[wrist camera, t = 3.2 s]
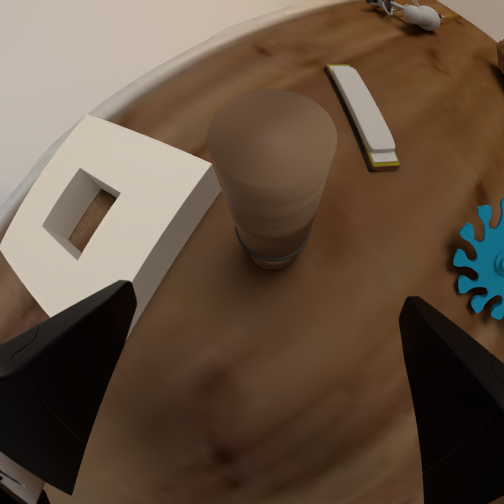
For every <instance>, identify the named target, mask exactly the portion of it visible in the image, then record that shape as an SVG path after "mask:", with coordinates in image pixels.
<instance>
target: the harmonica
mask: <svg viewBox="0 0 504 504" xmlns="http://www.w3.org/2000/svg"><path fill="white" fill-rule="evenodd" d="M324 70H325V72H326V74H327V76H328V78H329V80H330V82H331V84H332V86H333V88H334V90H335V92H336V94H337V96H338V98H339V101H340V103H341V105H342V107H343V109H344V111H345V114H346V116H347V118H348V120H349V123H350V125H351V127H352V130H353V132H354V135H355V137H356V139H357V142H358V144H359V147H360V149H361V152H362V155H363V157H364V160H365V163H366V165H367V168H368V170H369V172H374V171H387V170H398V168H399V167H400V163H399V160H398V157H397V155H396V153H395V150H394V149H395V143H394V140H393V138H392V135H391V133H390V131H389V129H388V127H387V125H386V123H385V121H384V119H383V117H382V115H381V113H380V111H379V109H378V107H377V105H376V103H375V102H374V100H373V98H372V96H371V94H370V93H369V91H368V89H367V87H366V86H365V84H364V82H363V81H362V79H361V77H360V76H359V74H358V73H357V71H356V70H355V69H354V68H351V67H350V65H345V64H327V65H326V68H324Z"/></svg>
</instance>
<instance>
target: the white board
mask: <svg viewBox="0 0 504 504" xmlns="http://www.w3.org/2000/svg"><path fill="white" fill-rule="evenodd" d="M101 188H102V189H103V190H105V191H106V192H108V193H110V194H111V195H113V196H114V197H116V198H117V200H116V201H115V203H114V204H113V205H112V207H111V208H110V210H109V211H108V213H107V214H106V216H105V217H104V219H103V220H102V222H101V223H100V225H99V227H98V228H97V230H96V231H95V233H94V234H93V236H92V238H91V239H90V241H89V243H88V244H87V246H86V248H85V249H84V251H83V253H81V252H80V251H79V250H78V249H77V248H76V247H75V246H73V245H72V244H71V243H70V242H69V241H68V239H69V237H70V236H71V234H72V232H73V231H74V229H75V228H76V226H77V224H78V223H79V221H80V220H81V218H82V216H83V215H84V213H85V212H86V210H87V209H88V207H89V206H90V204H91V203H92V201H93V200H94V198H95V197H96V195H97V194H98V193H99V191H100V190H101ZM220 192H221V188H220V185H219V182H218V179H217V177H216V174H215V171H214V168H213V165H212V164H211V163H209V162H207V161H204V160H202V159H200V158H198V157H195V156H193V155H191V154H188V153H186V152H184V151H181V150H179V149H177V148H174V147H172V146H169V145H167V144H165V143H162V142H160V141H157V140H155V139H152V138H150V137H147V136H145V135H142V134H140V133H137V132H135V131H132V130H129V129H127V128H124V127H121V126H119V125H116V124H113V123H111V122H108V121H105V120H102V119H100V118H97V117H94V116H91V115H88V114H87V115H86V116H85V117H84V118H83V120H82V121H81V122H80V123H79V124H78V125H77V127H76V128H75V129H74V130H73V131H72V133H71V134H70V135H69V136H68V138H67V139H66V140H65V141H64V143H63V144H62V145H61V146H60V148H59V149H58V150H57V152H56V153H55V154H54V156H53V157H52V159H51V160H50V161H49V163H48V164H47V166H46V167H45V168H44V170H43V171H42V173H41V174H40V176H39V177H38V179H37V180H36V182H35V183H34V185H33V186H32V188H31V190H30V191H29V193H28V194H27V196H26V198H25V199H24V201H23V203H22V204H21V206H20V208H19V210H18V211H17V213H16V215H15V217H14V219H13V221H12V222H11V224H10V226H9V228H8V230H7V232H6V234H5V236H4V238H3V240H2V242H1V244H0V250H1V252H2V253H3V255H4V256H5V258H6V260H7V261H8V263H9V264H10V266H11V267H12V268H13V270H14V271H15V273H16V274H17V276H18V277H19V278H20V280H21V281H22V282H23V284H24V285H25V287H26V288H27V289H28V291H29V292H30V293H31V294H32V296H33V297H34V298H35V300H36V301H37V302H38V303H39V305H40V306H41V307H42V308H43V309H44V311H45V312H46V313H47V314H48V315H49V317H52V316H54V315H56V314H58V313H59V312H61V311H63V310H65V309H67V308H68V307H70V306H72V305H74V304H76V303H77V302H79V301H81V300H83V299H85V298H87V297H88V296H90V295H92V294H94V293H96V292H98V291H99V290H101V289H103V288H105V287H107V286H109V285H111V284H113V283H114V282H116V281H118V280H129V281H131V282H132V284H133V287H134V291H135V295H136V298H137V308H136V311H135V314H134V317H133V320H132V323H131V326H130V329H129V333H128V336H127V339H128V337H129V335H130V333H131V331H132V330H133V328H134V326H135V325H136V323H137V321H138V319H139V318H140V316H141V314H142V313H143V311H144V309H145V307H146V306H147V304H148V302H149V301H150V299H151V297H152V296H153V294H154V292H155V291H156V289H157V288H158V286H159V284H160V283H161V281H162V279H163V278H164V276H165V275H166V273H167V271H168V270H169V268H170V267H171V265H172V264H173V262H174V260H175V259H176V257H177V256H178V254H179V253H180V251H181V249H182V248H183V246H184V245H185V243H186V242H187V240H188V239H189V237H190V236H191V234H192V233H193V231H194V230H195V228H196V227H197V225H198V224H199V222H200V221H201V219H202V218H203V216H204V215H205V213H206V212H207V210H208V209H209V208H210V206H211V205H212V203H213V202H214V200H215V199H216V197H217V196H218V195H219V193H220ZM127 339H126V340H127Z"/></svg>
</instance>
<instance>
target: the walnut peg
mask: <svg viewBox="0 0 504 504" xmlns="http://www.w3.org/2000/svg"><path fill="white" fill-rule="evenodd" d="M207 142H208V148H209V151H210V154H211V157H212V160H213V163H214V165H215V168H216V171H217V174H218V177H219V180H220V183H221V186H222V189H223V191H224V194H225V197H226V200H227V203H228V206H229V209H230V212H231V214H232V217H233V220H234V223H235V230H236V234H237V237H238V239H239V241H240V243H241V245H242V246H243V248H244V249H245V250H246V251H247V252H248V253H249V254H250V256H251V258H252V259H253V261H254V262H255V263H256V264H257V265H258V266H260V267H262V268H264V269H267V270H280V269H283V268H285V267H287V266H289V265H290V264H291V263H292V262H293V261H294V260H295V258H296V256H297V254H298V253H299V252H300V251H301V250H302V249H303V248H304V247H305V245H306V244H307V242H308V240H309V237H310V234H311V230H312V223H313V220H314V217H315V214H316V211H317V208H318V205H319V202H320V199H321V196H322V192H323V189H324V186H325V183H326V180H327V177H328V173H329V170H330V167H331V164H332V160H333V157H334V154H335V150H336V146H337V132H336V128H335V125H334V123H333V121H332V119H331V117H330V116H329V114H328V113H327V112H326V111H325V110H324V109H323V108H322V107H321V106H320V105H319V104H317V103H316V102H314V101H313V100H311V99H309V98H308V97H305V96H303V95H301V94H298V93H295V92H291V91H286V90H277V89H267V90H258V91H253V92H249V93H246V94H243V95H241V96H239V97H236V98H234V99H233V100H231V101H229V102H228V103H227V104H225V105H224V106H223V107H222V108H221V109H220V110H219V111H218V112H217V113H216V115H215V116H214V118H213V119H212V121H211V123H210V126H209V129H208V135H207Z"/></svg>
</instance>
